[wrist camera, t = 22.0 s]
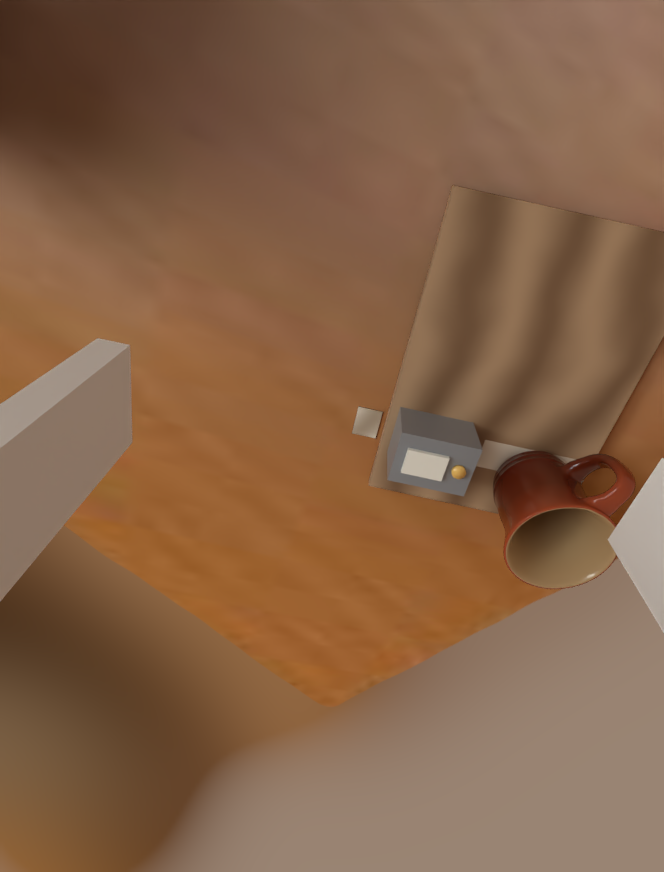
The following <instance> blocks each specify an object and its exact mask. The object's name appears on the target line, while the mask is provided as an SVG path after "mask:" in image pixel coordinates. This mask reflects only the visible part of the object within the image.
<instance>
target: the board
mask: <svg viewBox="0 0 664 872" xmlns="http://www.w3.org/2000/svg"><path fill="white" fill-rule="evenodd" d="M663 337H664V232H662V231H657V230H653V229H648V228H644V227H639V226H635V225H630V224H626V223H621V222H617V221H612V220H608V219H603V218H599V217H594V216H590V215H585V214H581V213H576V212H572V211H567V210H563V209H558V208H554V207H549V206H545V205H540V204H536V203H531V202H527V201H522V200H518V199H513V198H509V197H504V196H500V195H495V194H491V193H486V192H482V191H477V190H473V189H468V188H464V187H459V186H455V185H452V187H451V191H450V194H449V198H448V201H447V205H446V208H445V212H444V215H443V219H442V223H441V226H440V230H439V233H438V237H437V240H436V244H435V247H434V251H433V254H432V258H431V262H430V265H429V269H428V272H427V276H426V279H425V283H424V286H423V290H422V293H421V297H420V301H419V304H418V308H417V311H416V315H415V318H414V322H413V325H412V329H411V332H410V336H409V339H408V343H407V347H406V350H405V354H404V357H403V361H402V364H401V368H400V371H399V375H398V378H397V382H396V386H395V389H394V393H393V396H392V400H391V403H390V407H389V410H388V414H387V417H386V421H385V425H384V428H383V432H382V435H381V439H380V442H379V446H378V449H377V453H376V456H375V460H374V464H373V467H372V471H371V474H370V478H369V486H373V487H377V488H382V489H387V490H391V491H396V492H400V493H405V494H410V495H414V496H419V497H424V498H428V499H433V500H437V501H442V502H447V503H451V504H456V505H460V506H465V507H470V508H474V509H479V510H484V511H488V512H493V513H497V514H499V513H498V510H497V507H496V505H495V502H494V498H493V480H494V476H495V473H496V471H497V470H498V468H499V467H500V466H501V465H502V464H503V463H504V462H505V461H506V460H507V459H509V458H510V457H512V456H514V455H516V454H519V453H522V452H527V451H545V452H549V453H551V454H553V455H555V456H556V457H558V458H559V459H560V460H562V461H563V462H564V463H565V464H567V463H569V462H570V461H573V460H576V459H579V458H582V457H585V456H588V455H592V454H598V453H599V451H600V449H601V448H602V446H603V444H604V442H605V441H606V439H607V437H608V435H609V433H610V432H611V430H612V428H613V426H614V424H615V423H616V421H617V419H618V417H619V415H620V414H621V412H622V410H623V408H624V406H625V405H626V403H627V401H628V399H629V397H630V396H631V394H632V392H633V390H634V389H635V387H636V385H637V383H638V381H639V380H640V378H641V376H642V374H643V372H644V371H645V369H646V367H647V365H648V363H649V362H650V360H651V358H652V356H653V354H654V353H655V351H656V349H657V347H658V345H659V344H660V342H661V340H662V338H663ZM400 407H404V408H408V409H413V410H417V411H422V412H427V413H431V414H436V415H441V416H445V417H450V418H454V419H459V420H464V421H468V422H473V423H474V426H475V429H476V432H477V435H478V438H479V440H480V443H481V446H482V449H483V451H482V453H481V455H480V458H479V460H478V463H477V465H476V468H475V470H474V472H473V475H472V477H471V480H470V482H469V485H468V487H467V490H466V492H465V494H464V496H459V495H454V494H450V493H445V492H441V491H436V490H431V489H427V488H422V487H417V486H413V485H408V484H403V483H399V482H394V481H389V480H387V451H388V447H389V444H390V440H391V437H392V434H393V430H394V427H395V423H396V420H397V417H398V413H399V410H400ZM382 413H383V412H382V411H377V410H372V409H368V408H363V407H358V411H357V415H356V419H355V423H354V427H353V431H352V433H353V434H358V435H362V436H367V437H371V438H376V435H377V431H378V428H379V424H380V420H381V417H382ZM583 481H584V480H583ZM583 481H582V482H583Z"/></svg>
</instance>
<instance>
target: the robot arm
mask: <svg viewBox="0 0 664 872" xmlns="http://www.w3.org/2000/svg"><path fill="white" fill-rule="evenodd" d="M131 443H132V408H131V364H130V345H127V344H122V343H118V342H113V341H108V340H103V339H99V338H97V339H96V340H94V341H93V342H91V343H90V344H89V345H87V346H86V347H84V348H83V349H81V350H80V351H78V352H77V353H75V354H74V355H72V356H71V357H69V358H68V359H66V360H65V361H63V362H62V363H60V364H59V365H57V366H56V367H55V368H53V369H52V370H50V371H49V372H47V373H46V374H44V375H43V376H41V377H40V378H38V379H37V380H35V381H34V382H32V383H31V384H29V385H28V386H26V387H25V388H23V389H22V390H21V391H19V392H18V393H16V394H15V395H13V396H12V397H10V398H9V399H7V400H6V401H4V402H3V403H1V404H0V601H1V600H2V599H3V597H4V596H5V595H6V594H7V593H8V591H9V590H10V589H11V588H12V586H13V585H14V584H15V583H16V582H17V581H18V579H19V578H20V577H21V576H22V575H23V573H24V572H25V571H26V570H27V569H28V567H29V566H30V565H31V564H32V562H33V561H34V560H35V559H36V558H37V556H38V555H39V554H40V553H41V552H42V551H43V549H44V548H45V547H46V546H47V544H48V543H49V542H50V541H51V539H52V538H53V537H54V536H55V535H56V533H57V532H58V531H59V530H60V529H61V528H62V526H63V525H64V524H65V523H66V522H67V520H68V519H69V518H70V517H71V516H72V514H73V513H74V512H75V511H76V510H77V508H78V507H79V506H80V505H81V504H82V502H83V501H84V500H85V499H86V498H87V496H88V495H89V494H90V493H91V492H92V490H93V489H94V488H95V487H96V485H97V484H98V483H99V482H100V481H101V479H102V478H103V477H104V476H105V475H106V473H107V472H108V471H109V470H110V469H111V467H112V466H113V465H114V464H115V463H116V461H117V460H118V459H119V458H120V457H121V455H122V454H123V453H124V452H125V451H126V449H127V448H128V447H129V446H130V445H131ZM608 541H609V543H610V545H611V546H612V548H613V550H614V551H615V553H616V555H617V556H618V558H619V559H620V561H621V563H622V565H623V566H624V568H625V570H626V571H627V573H628V575H629V576H630V578H631V580H632V581H633V583H634V584H635V586H636V588H637V590H638V591H639V593H640V595H641V596H642V598H643V599H644V601H645V603H646V604H647V606H648V608H649V610H650V611H651V613H652V615H653V616H654V618H655V619H656V621H657V623H658V625H659V626H660V628H661V629H662V631H663V633H664V458H662V459H661V460H660V462H659V463H658V465H657V466H656V468H655V469H654V471H653V472H652V474H651V475H650V477H649V478H648V480H647V481H646V483H645V484H644V486H643V487H642V489H641V490H640V492H639V493H638V495H637V496H636V498H635V499H634V501H633V502H632V504H631V505H630V507H629V508H628V510H627V511H626V513H625V514H624V516H623V517H622V519H621V520H620V522H619V523H618V525H617V526H616V528H615V529H614V531H613V532H612V534H611V535H610V537H609V538H608Z"/></svg>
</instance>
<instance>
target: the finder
mask: <svg viewBox="0 0 664 872" xmlns="http://www.w3.org/2000/svg"><path fill="white" fill-rule="evenodd" d="M482 451H483V449H482V446H481V443H480V440H479V438H478V435H477V432H476V429H475V426H474V423H473V422H468V421H464V420H459V419H454V418H450V417H445V416H441V415H436V414H431V413H427V412H422V411H417V410H413V409H408V408H404V407H400V410H399V413H398V417H397V420H396V423H395V427H394V430H393V434H392V437H391V440H390V444H389V447H388V451H387V480H389V481H394V482H399V483H403V484H408V485H413V486H417V487H422V488H427V489H431V490H436V491H441V492H445V493H450V494H454V495H459V496H464V494H465V492H466V490H467V487H468V485H469V482H470V480H471V477H472V475H473V472H474V470H475V468H476V465H477V463H478V460H479V458H480V455H481V453H482Z"/></svg>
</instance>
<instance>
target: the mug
mask: <svg viewBox="0 0 664 872" xmlns="http://www.w3.org/2000/svg"><path fill="white" fill-rule="evenodd" d="M600 468H609V469H612V470H613V471H614V473H615V474H616V476H617V479H616V482H615V484H614V485H613V486H612V487H611V488H610V489H609V490H607V491H606V492H604V493H602V494H600V495H596V496H591V497H587V496H586V494H585V492H584V490H583V488H582V485H581V484H582V481H583V480H584V479H585V477H586V476H587V475H589V474H590V473H591V472H593V471H594V470H597V469H600ZM634 489H635V478H634V476H633V474H632V473H631V471H630V470H629V469H628V468H627V467H626V466H625V465H624V464H623V463H621V462H620V461H619V460H617V459H616V458H614V457H612V456H609V455H606V454H592V455H588V456H585V457H582V458H579V459H576V460H573V461H570V462H569V463H567V464H565V463H564V462H563V461H562V460H560V459H559V458H558V457H556V456H555V455H553V454H551V453H549V452H545V451H527V452H522V453H519V454H516V455H514V456H512V457H510V458H509V459H507V460H506V461H505V462H504V463H503V464H502V465H501V466H500V467H499V468H498V470H497V471H496V473H495V476H494V480H493V498H494V502H495V505H496V507H497V510H498V513H499V516H500V518H501V521H502V523H503V526H504V528H505V542H504V559H505V562H506V565H507V567H508V568H509V570H510V571H511V572H512V573H513V574H514V575H515V576H516V577H517V578H518V579H520V580H521V581H523V582H525V583H527V584H530V585H532V586H536V587H540V588H546V589H564V588H570V587H575V586H578V585H581V584H584V583H587V582H589V581H591V580H593V579H595V578H596V577H598V576H599V575H601V574H602V573H603V572H604V571H606V570H607V569H608V568H609V567H610V565H611V564H612V563H613V562H614V560H615V558H616V556H617V555H616V553H615V551H614V550H613V548H612V546H611V545H610V543H609V541H608V538H609V537H610V535H611V534H612V532H613V531H614V529H615V528H616V525H615V523H614V522H613V521H612V520H611V519H610V516H611V515H612V514H613V513H614V512H616V511H617V509H618V508H619V507H620V506H621V505H622V504H623V503H624V502H626V501H627V500H628V499H629V498H630V496H631V495H632V494H633V492H634Z"/></svg>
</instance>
